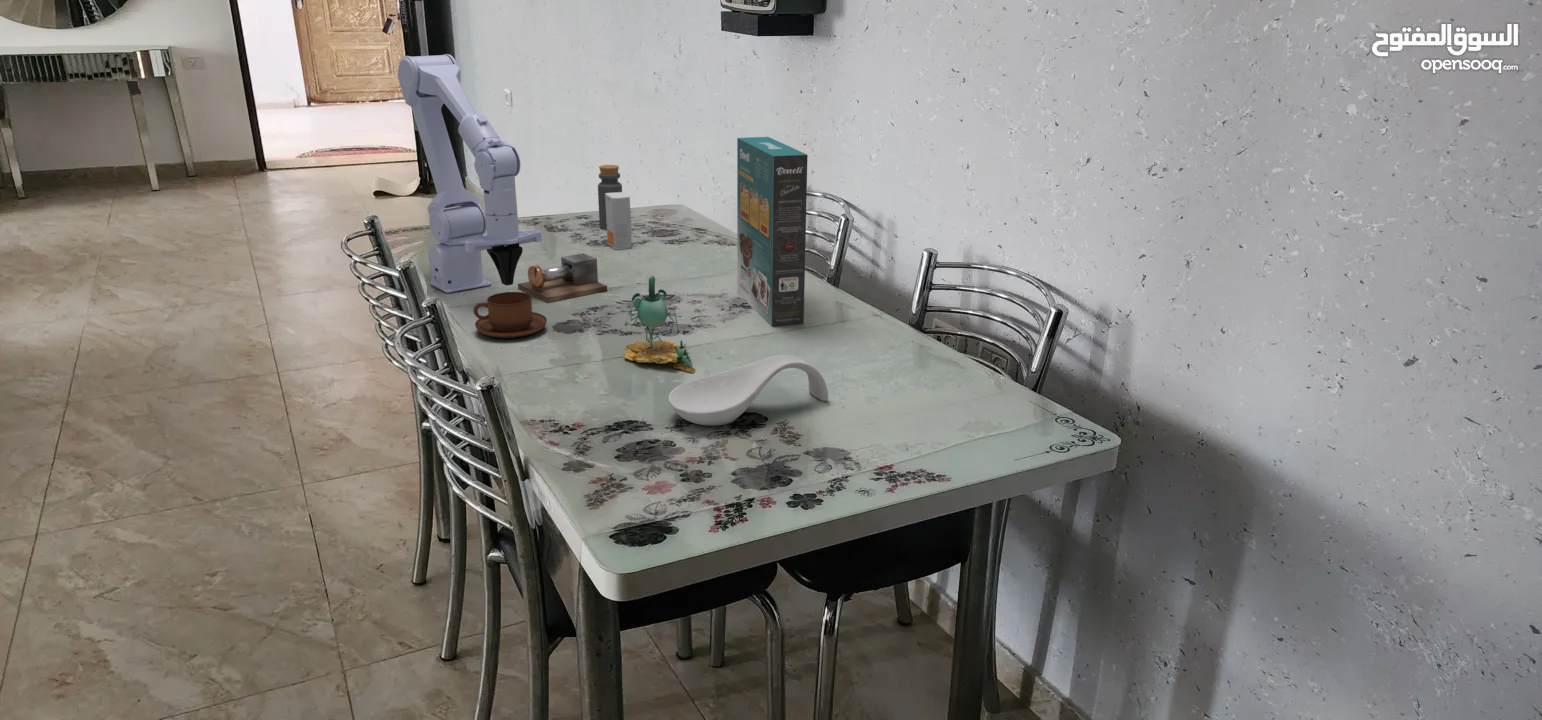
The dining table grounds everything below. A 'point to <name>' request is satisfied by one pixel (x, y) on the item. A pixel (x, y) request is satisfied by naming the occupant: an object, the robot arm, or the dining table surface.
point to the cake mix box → (771, 229)
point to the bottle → (607, 189)
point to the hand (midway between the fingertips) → (507, 284)
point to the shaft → (547, 274)
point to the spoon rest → (736, 390)
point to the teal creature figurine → (652, 316)
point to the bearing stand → (570, 281)
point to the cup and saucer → (509, 316)
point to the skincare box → (618, 220)
